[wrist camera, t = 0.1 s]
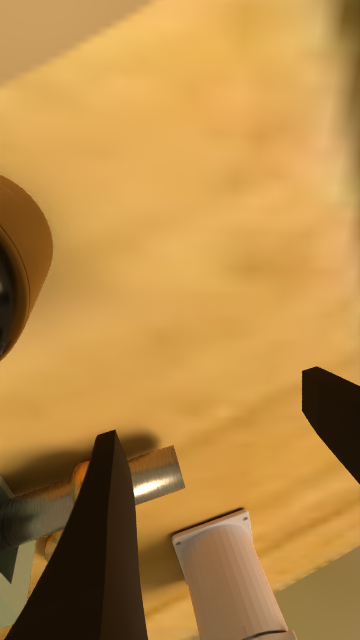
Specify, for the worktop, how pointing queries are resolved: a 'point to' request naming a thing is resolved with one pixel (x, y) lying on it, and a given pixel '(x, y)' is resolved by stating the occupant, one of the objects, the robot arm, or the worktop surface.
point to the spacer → (51, 544)
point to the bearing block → (14, 573)
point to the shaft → (58, 499)
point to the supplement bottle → (20, 260)
